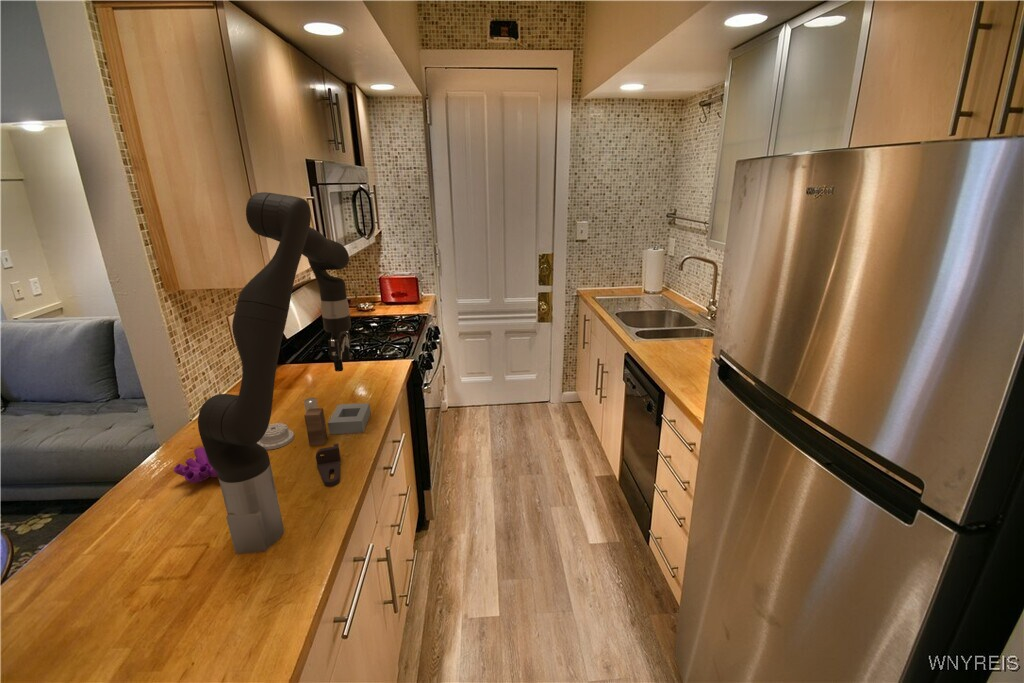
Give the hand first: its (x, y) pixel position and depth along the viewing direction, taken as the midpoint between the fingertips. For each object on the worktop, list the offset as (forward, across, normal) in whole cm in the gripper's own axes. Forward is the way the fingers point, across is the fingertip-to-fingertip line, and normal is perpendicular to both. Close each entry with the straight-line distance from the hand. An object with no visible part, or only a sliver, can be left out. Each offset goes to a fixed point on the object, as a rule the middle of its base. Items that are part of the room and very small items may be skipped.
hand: (343, 365), depth 135 cm
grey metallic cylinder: (+20, +2, +12) cm, 24 cm away
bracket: (+21, -26, 0) cm, 33 cm away
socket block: (+20, 0, 0) cm, 20 cm away
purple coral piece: (+20, -24, +30) cm, 43 cm away
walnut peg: (+20, -10, +7) cm, 23 cm away
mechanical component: (+20, -8, +20) cm, 30 cm away
